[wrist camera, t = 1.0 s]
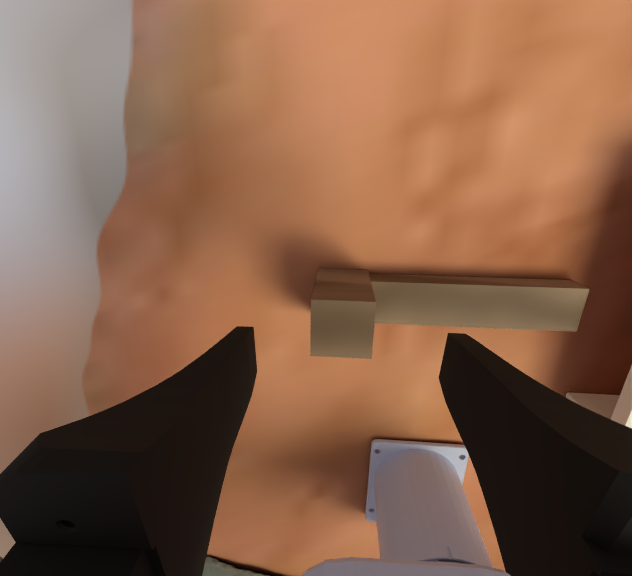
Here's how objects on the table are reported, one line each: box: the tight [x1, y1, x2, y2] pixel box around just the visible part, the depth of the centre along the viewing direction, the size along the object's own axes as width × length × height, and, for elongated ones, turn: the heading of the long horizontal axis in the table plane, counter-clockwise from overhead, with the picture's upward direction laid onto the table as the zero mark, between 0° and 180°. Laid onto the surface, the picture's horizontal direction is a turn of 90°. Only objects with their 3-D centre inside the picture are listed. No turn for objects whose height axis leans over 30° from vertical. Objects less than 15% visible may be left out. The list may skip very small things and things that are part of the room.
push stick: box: [310, 268, 590, 359], centre depth 21 cm, size 4×17×6 cm, turn 89°
